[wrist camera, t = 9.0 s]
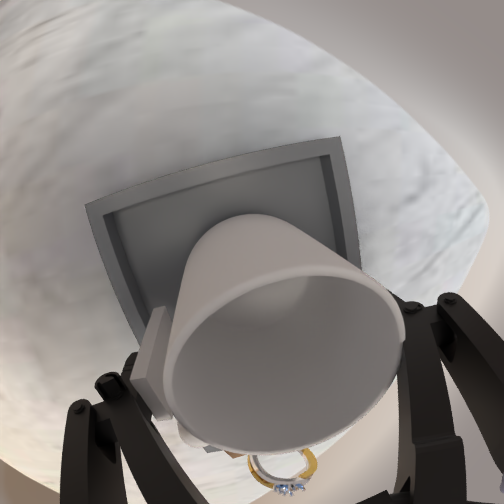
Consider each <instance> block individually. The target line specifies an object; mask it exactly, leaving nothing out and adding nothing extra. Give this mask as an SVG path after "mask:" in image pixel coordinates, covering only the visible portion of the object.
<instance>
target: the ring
mask: <svg viewBox="0 0 504 504" xmlns="http://www.w3.org/2000/svg"><path fill="white" fill-rule="evenodd" d="M298 452H299V453H300V454H301V455H302V456H303V458H304V460H305V462H306V472H304V473H302V474H300V475H299V478H293V479H283V478H277V477H274V476H272V475H270V474H269V473H267V472H266V471H265V470H264V469H263V468H262V466H261V465H260V463H259V461H258V458H257V455H248V466H249V469H250V472H251V473H252V475H253V476H254V478H255V479H256V480H257V481H258V482H260V483H261V484H263V485H264V486H266V487H269V488H272V489H273V491H274V492H277V493H278V494H283V496H285V495H286V493H289V496H293V492H294V491H297V490H299V488H300V489H301V490H302V491H305V488H304V485H305V484H306V483H307V482H308V481H309V480H310V479H311V477H312V475H313V473H314V472H315V471H316V469H317V460H316V458H315V456H314V455H313V453H312V452H311V451H310V450H309V449H308V448H306V449H302V450H298Z"/></svg>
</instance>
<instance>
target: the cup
mask: <svg viewBox="0 0 504 504" xmlns="http://www.w3.org/2000/svg"><path fill="white" fill-rule="evenodd" d="M404 340H405V326H404V321H403V317H402V314H401V311H400V308H399V306H398V304H397V302H396V301H395V299H394V298H393V296H392V295H391V294H390V293H389V291H388V290H387V289H386V288H385V287H384V286H382V285H381V284H380V283H379V282H377V281H376V280H375V279H373V278H372V277H370V276H369V275H367V274H366V273H364V272H363V271H362V270H360V269H359V268H357V267H356V266H354V265H353V264H351V263H350V262H348V261H347V260H345V259H344V258H342V257H341V256H339V255H338V254H336V253H335V252H333V251H332V250H330V249H329V248H327V247H326V246H324V245H323V244H321V243H320V242H318V241H317V240H315V239H314V238H312V237H310V236H309V235H307V234H306V233H304V232H303V231H301V230H300V229H298V228H296V227H295V226H293V225H291V224H290V223H288V222H286V221H284V220H281V219H279V218H276V217H273V216H269V215H263V214H245V215H239V216H235V217H232V218H229V219H226V220H224V221H222V222H220V223H218V224H216V225H215V226H214V227H212V228H211V229H210V230H208V231H207V232H206V233H205V234H204V235H203V236H202V237H201V238H200V239H199V241H198V242H197V243H196V245H195V246H194V248H193V249H192V251H191V253H190V255H189V258H188V260H187V263H186V266H185V270H184V274H183V278H182V282H181V287H180V291H179V296H178V300H177V305H176V309H175V314H174V318H173V323H172V328H171V333H170V338H169V343H168V349H167V354H166V359H165V365H164V370H163V388H164V394H165V398H166V401H167V403H168V406H169V408H170V410H171V411H172V413H173V415H174V417H175V418H176V419H177V423H178V430H179V434H180V437H181V439H182V440H183V441H184V443H185V444H187V445H189V446H190V447H194V448H202V447H205V446H208V445H211V446H213V447H216V448H218V449H221V450H225V451H229V452H233V453H238V454H245V455H276V454H284V453H290V452H294V451H298V450H302V449H306V448H309V447H312V446H314V445H317V444H320V443H322V442H324V441H327V440H329V439H331V438H333V437H335V436H336V435H338V434H340V433H342V432H343V431H345V430H346V429H348V428H350V427H351V426H352V425H354V424H355V423H356V422H358V421H359V420H360V419H361V418H363V417H364V416H365V415H366V414H367V413H368V412H369V411H370V410H371V409H372V408H373V407H374V406H375V405H376V404H377V403H378V402H379V401H380V399H381V398H382V397H383V395H384V394H385V393H386V391H387V390H388V388H389V387H390V385H391V384H392V382H393V380H394V378H395V376H396V374H397V372H398V370H399V367H400V364H401V357H402V347H403V341H404Z"/></svg>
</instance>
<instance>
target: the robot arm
mask: <svg viewBox="0 0 504 504" xmlns="http://www.w3.org/2000/svg"><path fill="white" fill-rule="evenodd" d="M388 291H389V290H388ZM389 293H390V294H391V295H392V296H393V298H394V299H395V301H396V302H397V304H398V306H399V308H400V311H401V314H402V317H403V321H404V326H405V340H404V341H403V347H402V357H401V364H400V367H399V370H398V372H397V380H398V381H397V382H398V400H399V452H398V470H397V478H396V483H395V487H394V493H393V494H389V493H388V491H387V490H385V491H383V492H381V493H379V494H377V495H375V496H372V497H370V498H368V499H366V500H364V501H361V502H359V503H357V504H493V503H481V502H472V501H467V497H466V496H467V495H466V494H467V493H466V492H467V491H466V469H465V456H464V446H463V441H462V438H461V437H460V436H456V435H455V431H454V424H453V417H452V411H451V405H450V400H449V395H448V390H447V385H446V381H445V376H444V372H443V368H442V364H441V361H442V362H443V364H444V365H445V367H446V369H447V370H448V372H449V374H450V375H451V377H452V379H453V381H454V382H455V384H456V386H457V388H458V389H459V391H460V393H461V395H462V397H463V398H464V400H465V402H466V404H467V406H468V408H469V410H470V412H471V413H472V415H473V417H474V419H475V421H476V423H477V425H478V427H479V430H480V432H481V434H482V436H483V438H484V440H485V442H486V445H487V447H488V449H489V451H490V454H491V456H492V458H493V460H494V461H495V464H496V465H497V467H498V468H499V470H500V471H501V473H502V474H503V477H502V483H501V485H500V491H501V492H502V493H504V341H503V340H502V339H501V337H500V336H499V335H498V334H497V333H496V332H495V331H494V330H493V329H492V328H491V327H490V325H489V324H488V323H487V322H486V321H485V320H484V319H483V318H482V317H481V316H480V315H479V314H478V313H477V312H476V311H475V310H474V309H473V308H472V307H471V306H470V305H469V304H468V303H467V302H466V301H465V300H464V299H463V298H462V297H461V296H460V295H458V294H456V293H452V292H451V293H450V292H448V293H443V294H441V295H440V296H439V297H438V301H437V305H433V306H428V307H424V306H423V305H422V304H421V303H419V302H414V301H409V302H404V301H403V300H402V299H400V298H399V297H397V296H396V295H395V294H392V292H390V291H389ZM171 328H172V321H171V319H170V317H169V314H168V312H167V309H166V307H165V306H162V307H158V308H154V309H153V312H152V314H151V317H150V320H149V323H148V325H147V328H146V331H145V334H144V337H143V340H142V343H141V346H140V349H139V352H134V353H132V354H131V355H130V356H129V357H128V358H127V359H126V362H125V365H124V366H125V367H124V368H123V370H122V371H123V372H122V373H121V376H120V375H119V374H118V373H117V372H109V373H106V374H104V375H102V376H100V377H99V378H98V379H97V381H96V383H95V389H96V390H97V391H98V393H99V394H100V396H101V397H102V398H103V400H104V401H103V402H101V403H98V404H95V405H91V403H90V402H89V401H88V400H86V399H80V400H78V401H75V402H74V403H73V404H72V405H71V406H70V407H69V410H68V414H67V420H66V427H65V434H64V442H63V451H62V462H61V478H60V504H128V502H127V497H126V491H125V484H124V477H123V469H122V460H121V450H122V452H123V454H124V457H125V459H126V461H127V464H128V466H129V468H130V470H131V473H132V475H133V477H134V479H135V481H136V483H137V485H138V487H139V489H140V491H141V493H142V495H143V497H144V499H145V500H146V502H147V504H209V503H208V502H207V500H206V499H205V498H204V497H203V496H202V494H201V493H200V492H199V490H198V489H197V488H196V487H195V485H194V484H193V483H192V481H191V480H190V479H189V477H188V476H187V474H186V473H185V472H184V470H183V469H182V467H181V466H180V465H179V463H178V462H177V460H176V459H175V457H174V456H173V454H172V453H171V451H170V450H169V448H168V446H167V445H166V443H165V442H164V440H163V438H162V437H161V435H160V433H159V432H158V430H157V428H156V427H155V425H154V424H153V423H152V421H151V417H152V414H153V416H154V417H155V418H156V420H157V421H163V420H170V419H172V418H173V413H172V411H171V410H170V408H169V406H168V403H167V401H166V398H165V394H164V388H163V370H164V365H165V359H166V354H167V349H168V343H169V338H170V333H171ZM440 359H441V360H440ZM120 447H121V450H120Z"/></svg>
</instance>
